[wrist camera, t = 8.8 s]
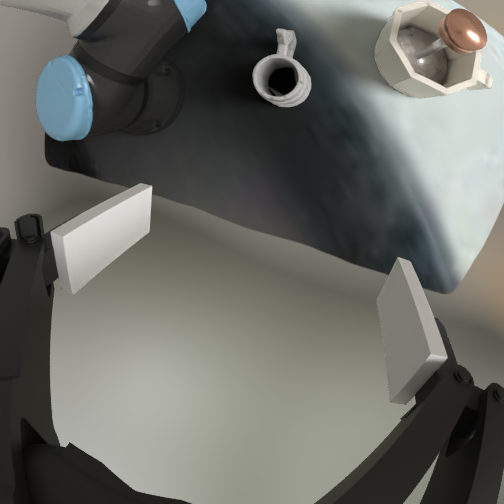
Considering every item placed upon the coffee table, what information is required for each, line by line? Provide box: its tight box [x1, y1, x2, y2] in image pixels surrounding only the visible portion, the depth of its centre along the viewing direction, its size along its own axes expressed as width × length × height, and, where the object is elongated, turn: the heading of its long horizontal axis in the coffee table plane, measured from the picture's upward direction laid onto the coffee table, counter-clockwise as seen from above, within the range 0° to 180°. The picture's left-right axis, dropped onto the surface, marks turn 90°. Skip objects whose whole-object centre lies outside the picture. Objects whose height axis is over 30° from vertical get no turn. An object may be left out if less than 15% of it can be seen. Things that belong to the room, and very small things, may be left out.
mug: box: [252, 29, 311, 107], centre depth 34 cm, size 8×12×12 cm, turn 172°
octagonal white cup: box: [374, 0, 493, 99], centre depth 27 cm, size 16×12×13 cm
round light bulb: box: [396, 9, 487, 83], centre depth 22 cm, size 9×9×18 cm
